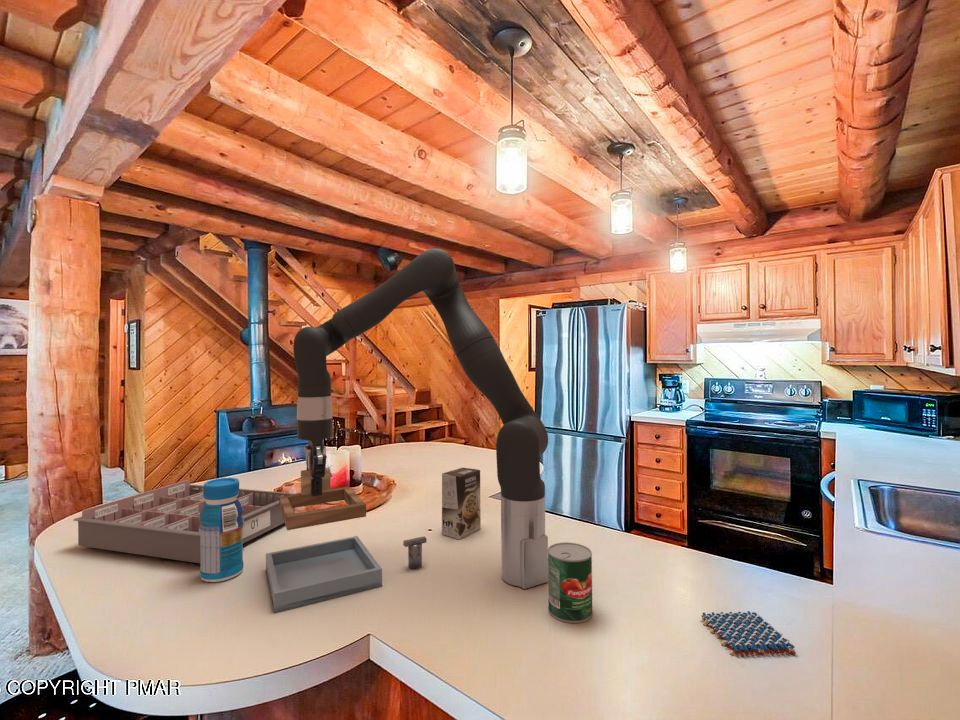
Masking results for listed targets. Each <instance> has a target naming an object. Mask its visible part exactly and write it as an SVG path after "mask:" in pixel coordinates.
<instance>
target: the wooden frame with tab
mask: <svg viewBox="0 0 960 720" xmlns="http://www.w3.org/2000/svg"><path fill="white" fill-rule="evenodd" d="M316 472H320V470H317V471H316ZM310 476H311V470H307V469H305V470H302V469H301V470H300V493H295V494H293V495H286V496H279V509H280V511H281V514H282V517H283V520H284V523H283V524H285V525H284V526H285V528H286V530H287V531H291V530H296V529H303V528H308V527H313V526H320V525H325V524H331V523H337V522H343V521H349V520H355V519H360V518H365V517H367V503H365V502H364V501H363V500H362V498H361V497H360V496H359V495H358V494H357V493H356V492H355V491H354V490H353V489H352V488H351V487H350V486H345V487H336V488H331V468H330V467H329V466H327V467H325V475H324V477H323V478H322V495H320V496H312V495H311V478H310ZM342 501H344V502H345V503H346V505H345V504H344V505H340V506H339V505H338V506H333V507H327V508H320V509H313V510H308V511H307V510H306V511H301V512H295V513H294V511H293V509H292V508H295V509H296V508H301V507H309V506H313V505H314V506H315V505H321V504H327V503H335V502H342Z"/></svg>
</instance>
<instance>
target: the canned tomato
mask: <svg viewBox="0 0 960 720" xmlns="http://www.w3.org/2000/svg"><path fill="white" fill-rule="evenodd" d="M592 556H593V552H592V550H591V549H590V548H589V547H587V546H585V545H584V544H581V543H575V542H569V541H568V542H566V541H565V542H558V543H554V544H551V545H550V546H548V582H547V583H548V585H547V586H548V587H547V589H548V592H547V593H548V594H547V595H548V606H547V607H548V612H549V614H550V615H551V616H552V617H553V619H556V620H558V621H560V622H564V623H568V624H579V623H580V624H581V623H585V622H587V621H589V620H590V619H591V618H592V617H593V614H594V611H593V579H592V578H593V565H592V564H593V557H592Z"/></svg>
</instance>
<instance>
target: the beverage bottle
mask: <svg viewBox="0 0 960 720" xmlns="http://www.w3.org/2000/svg"><path fill="white" fill-rule="evenodd" d="M202 486H203V497H204V500H206V501H207V502H206V503H205V504H204V506H203V508H202V510H201V512H200V516H199V518H200V520H201V524H200V526H199V534H200V553H201V563H200V569H199V577H200V579H201V580H202V581H203V582H208V583H219V582H224V581H228V580H231V579H234V578H235V577H237V576H239V575H240V574H241V573H242V571H243V570H244V560H243V559H244V558H243V557H244V555H243V552H244V551H243V550H244V549H243V544H244V543H243V526H244V519H243V518H242V513H243V507H242V505H241V503H240V501H239V500H238V499H237V498H236V497H237V496H238V495H239V489H240V480H239V479H238V478H236V477H222V478H221V477H220V478H215V479H211V480H208V481H206V482H204V483H203V485H202Z"/></svg>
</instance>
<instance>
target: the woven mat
mask: <svg viewBox="0 0 960 720" xmlns="http://www.w3.org/2000/svg"><path fill="white" fill-rule="evenodd" d="M700 618H701V619H702V620H699V622H700V623H702V624H703V625H704V626H705V627H706V630H708V631H709V632H710V633H711V634H712V635H714V634H715V635H714V637H715V638H716V639H718V641H719V642H720V644H721V645H722V646H723V647H725V648H724V649H725V651H729V652H728V654H729V655H731V656H738V657H739V656H741V657H744V656H759V655H760V656H766V655H767V656H769V655H774V656H775V655H789V654H790V655H796V652H797V651H796V650H795V645H794V644H792V643H791V642H790V639H787V638H786V637H784V636H783V633H780V632H779V631H777V630H778V629H776V628H774V626H772V624H771V623H769V622H768V621H766V620H765V618H764V617H762V616H761V615H760V614H757V612H753V611H752V612H751V611H750V610H747V612H742V611H738V612H732V611H730V612H728V613H727V612H723V611H721V612H720V613H718V612H717V613H715V612H713V611H712V612H711V613H707V614H706V612H702V614H701V617H700Z"/></svg>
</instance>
